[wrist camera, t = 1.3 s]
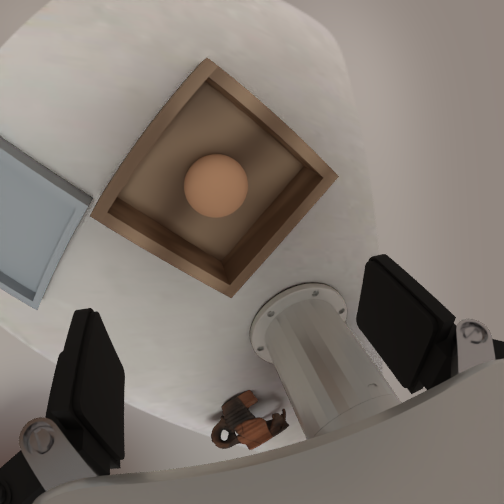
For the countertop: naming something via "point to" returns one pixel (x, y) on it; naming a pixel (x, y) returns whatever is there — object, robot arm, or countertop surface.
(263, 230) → the bin
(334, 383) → the robot arm
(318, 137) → the countertop surface
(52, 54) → the countertop surface
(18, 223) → the tray
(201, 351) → the countertop surface
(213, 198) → the ball
